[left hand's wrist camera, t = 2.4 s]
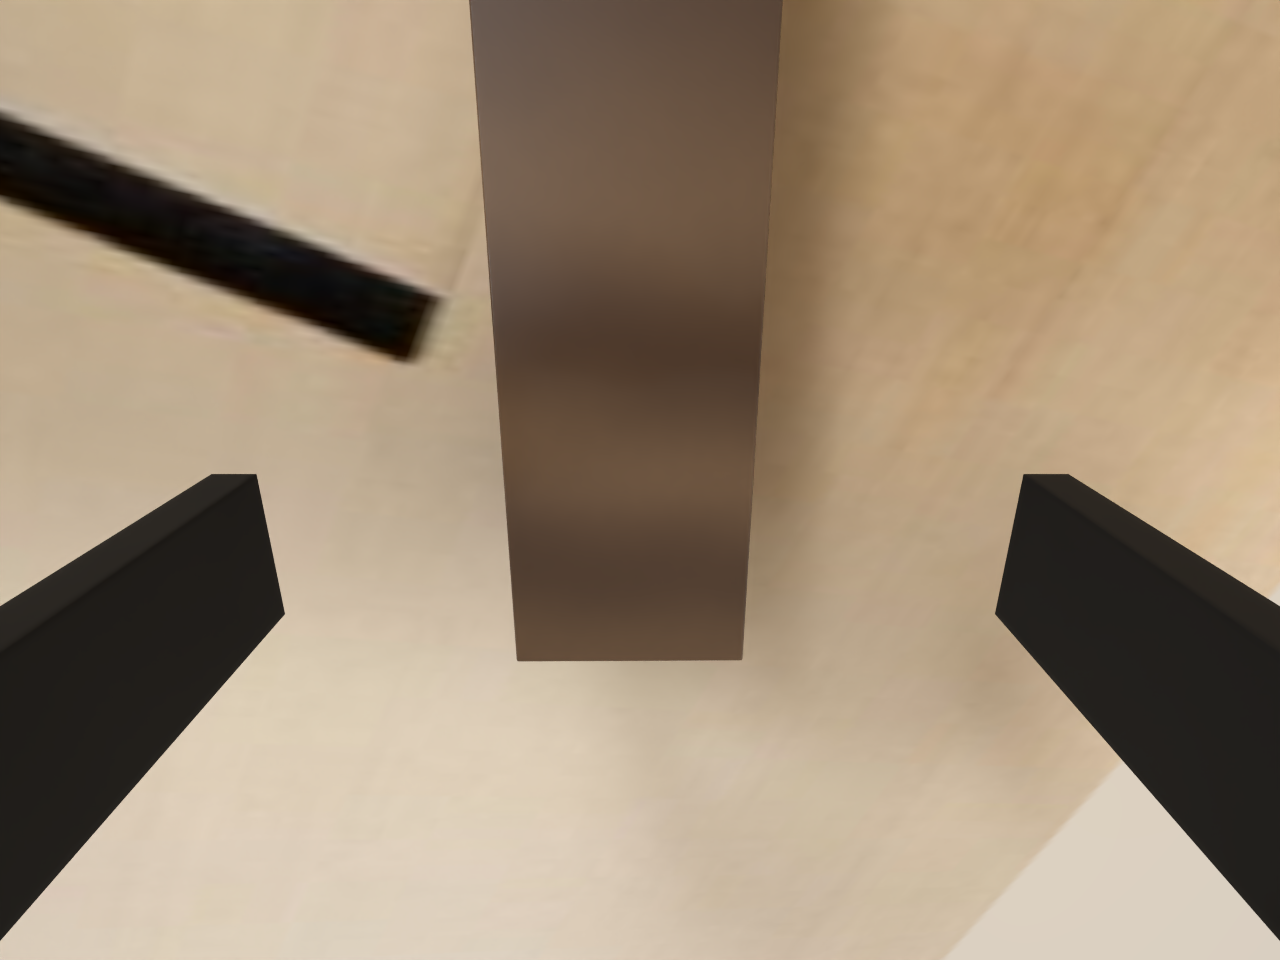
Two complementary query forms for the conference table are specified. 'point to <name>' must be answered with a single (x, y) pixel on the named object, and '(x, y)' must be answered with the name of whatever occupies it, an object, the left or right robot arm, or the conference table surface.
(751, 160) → the post
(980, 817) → the conference table surface
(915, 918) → the conference table surface
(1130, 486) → the conference table surface
